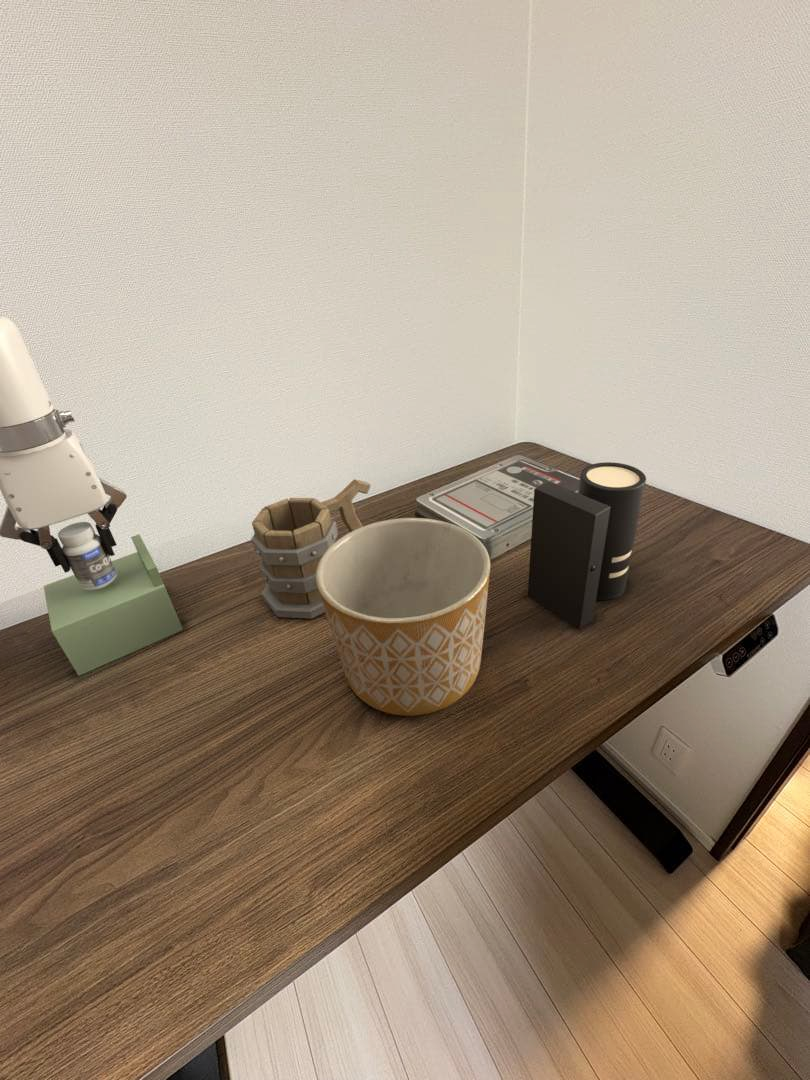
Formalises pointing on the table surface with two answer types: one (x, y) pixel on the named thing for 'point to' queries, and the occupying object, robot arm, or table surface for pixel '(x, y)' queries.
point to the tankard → (299, 548)
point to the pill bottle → (87, 556)
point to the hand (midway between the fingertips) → (88, 558)
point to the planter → (407, 611)
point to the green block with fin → (112, 612)
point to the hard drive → (494, 501)
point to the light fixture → (584, 540)
